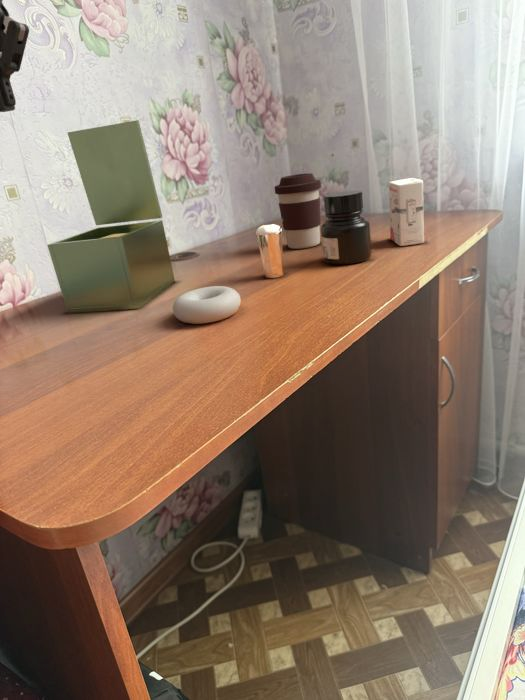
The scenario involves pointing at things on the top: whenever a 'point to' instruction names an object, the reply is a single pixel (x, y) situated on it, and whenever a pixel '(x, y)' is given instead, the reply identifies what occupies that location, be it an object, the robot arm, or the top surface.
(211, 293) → the donut
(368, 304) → the top surface
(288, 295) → the top surface
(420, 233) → the ink box
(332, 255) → the ink bottle
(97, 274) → the bin
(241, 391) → the top surface
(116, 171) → the bin lid
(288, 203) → the coffee cup
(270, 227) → the milkshake
